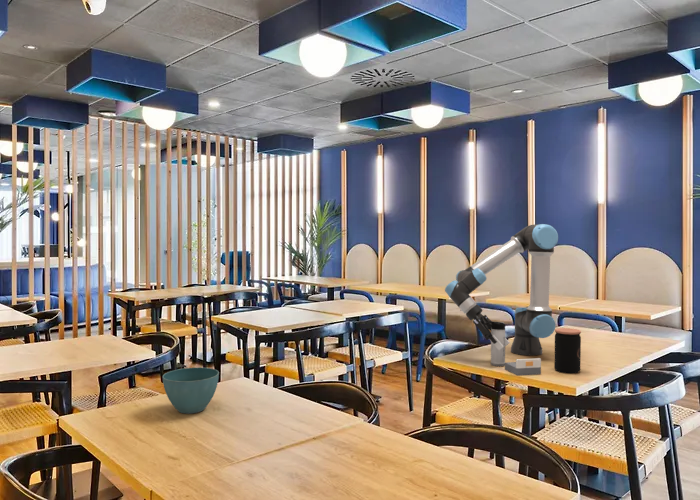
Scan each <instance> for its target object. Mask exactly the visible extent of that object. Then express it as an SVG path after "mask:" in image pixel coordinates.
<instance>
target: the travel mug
mask: <svg viewBox="0 0 700 500" xmlns="http://www.w3.org/2000/svg"><path fill="white" fill-rule="evenodd" d="M491 326H492V327H491V330H490V332H491V334H492V335H494V336H495V337H496V338H497V339H498V340H499V342H500V343H501V344H502V345H503V346H504V347H503V348H501V349H500V350H498V349H497V348H496V347H495V345H494V344H493V343H492V342H491V341H490V365H491V366H493V367H498V366H499V368H500V366H501V367H505V363H506V346H505V338H506V323H504V322H500V321H493V320H491Z"/></svg>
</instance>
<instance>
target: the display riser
mask: <svg viewBox="0 0 700 500" xmlns="http://www.w3.org/2000/svg"><path fill="white" fill-rule="evenodd" d="M504 370H505V371H507V370H508V371H507V372H510V373H511V374H513V375H516V376H518V377H519V376H534V375H536V376H537V375H542V358H540V357H537V358H520V359H515V361H510V362H509V361H508V362H506V361H505V366H504Z"/></svg>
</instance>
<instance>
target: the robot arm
mask: <svg viewBox="0 0 700 500" xmlns="http://www.w3.org/2000/svg"><path fill="white" fill-rule="evenodd" d="M558 241H559V234H558V232H557V230H556V229H555V227H553V226H552V225H550V224H546V223H545V224H544V223H541V224H540V223H538V224H530V225H527V226H525V227H523V228H522V229H521V230H520V231H518V232H517V233H515V234H514V235H512V236H511V237H510V240H509V241H506V242H505V243H503V244H502V245H500V246H499V247H498V248H496V249H495V250H493V251H492V252H490V253H488V254H487V255H484V257H482V258H481V259H479V260H478V261H476V262H475V263H473V264H471V265H470V266H468V267H467V268H465V269H463V270H460V271H458V272H457V273H456V275H455V279H456V280H454V279H453V280H451V282H449V283H448V284H447V285H446V286H445V288H444V293H446V294H447V296H448V297H449V299H451V301H453V303H454V304H455V305H456V306H457V307H458V308H459V309H460V312H462V313H463V314H465V316H466V317H467V318H468V320H469V321H472V323H473V324H474V325H475V326H476V328H477V329H478V330H479V332H480V333H481V335H483V337H484V338H485V340H486V341H488V340H489V341H490V343H491V342H492V343H493V344H494V345H495V347H496V348H497V349H498V350H500V349H501V348H503V347H504V346H503V345H502V344H501V343H500V342H499V340H498V339H497V338H496V337H495V336H494V335H492V334H491V327H492V326H491V321H492V320H491V319H490V318H489V317H488V316H487V315H486V314H484V315H483V314H482V312H483V308H482V307H481V306H480V305H478V304H477V302H476V301H475V300H474V298H473V297H472V296H471V294H472V292H474V291H475V290H476V289H478V288H479V287H481V285H483V284H484V283H485V282H486V281H487V276H486V275H487V274H488V273H489V272H491V271H492V270H495V269H496V268H497V267H499V266H500V265H502V264H504V263H505V262H507V261H509V260H510V259H511V258H513V257H514V256H516V255H517V254H519V253H522V254H523V253H524V252H526V251H528V254H529V255H530V257H531V258H530V290H529V291H530V292H529V293H530V295H529V304H528V306H527V307H516V308H515V311H514V338H513V340H512V343H511V342H510V341H509V340H508V339H507V338H506V337H505V347H507V346H508V345H509V344H510V343H511V347H510V352H511V353H513V354H515V355H520V356H521V355H522V356H541V355H543V347H542V344H541V341H540V339H545V338H548V337H551V335H552V334H553V333H555V329H556V325H557V324H556V321H555V319H554V318H553V317H552V315H553V309H552V308H551V307H550V276H551V275H550V274H551V256H552V255H553V254H554V253H555V251H554V250H555V247H556V245H557V244H558Z"/></svg>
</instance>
